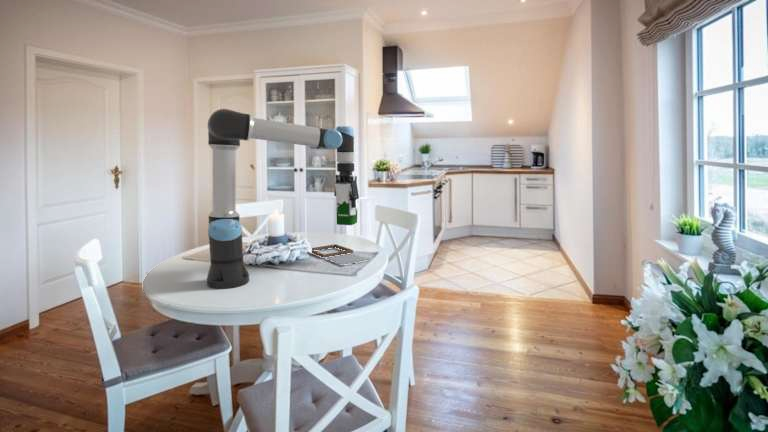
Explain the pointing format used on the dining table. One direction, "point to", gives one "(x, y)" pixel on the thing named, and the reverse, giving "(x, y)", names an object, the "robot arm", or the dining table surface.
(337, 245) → the walnut collar
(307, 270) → the dining table surface
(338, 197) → the soya milk
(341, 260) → the grey mat
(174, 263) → the dining table surface
